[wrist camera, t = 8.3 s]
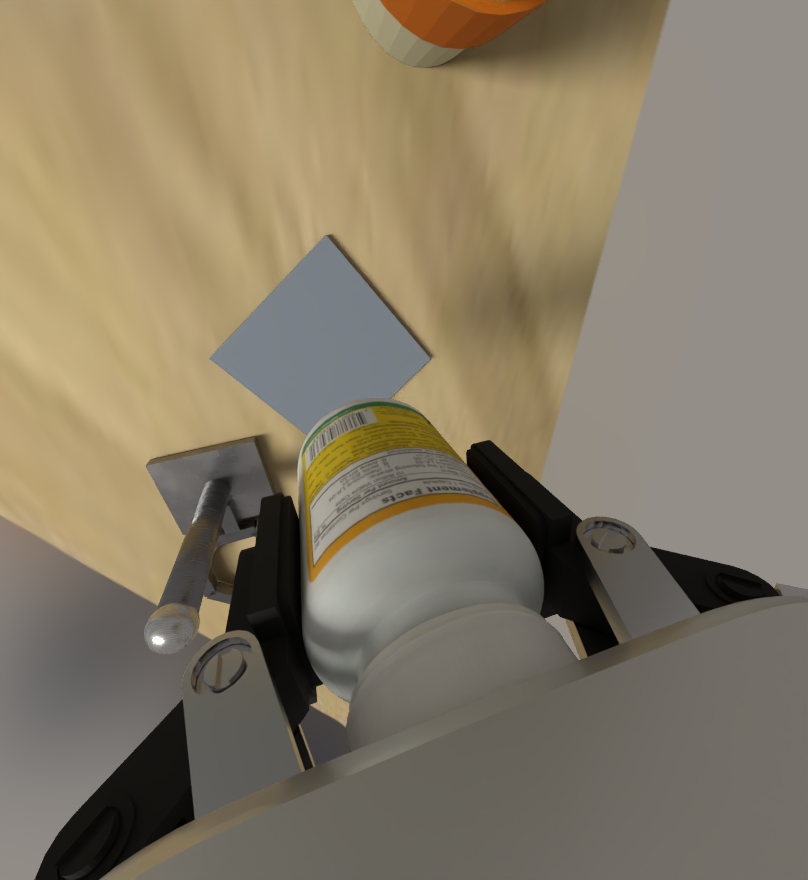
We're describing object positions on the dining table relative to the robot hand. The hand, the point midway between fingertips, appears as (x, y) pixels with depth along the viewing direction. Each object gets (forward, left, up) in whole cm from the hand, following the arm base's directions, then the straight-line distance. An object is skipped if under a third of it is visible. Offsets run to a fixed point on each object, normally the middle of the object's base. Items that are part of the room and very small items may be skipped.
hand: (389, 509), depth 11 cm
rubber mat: (0, 0, -20) cm, 20 cm away
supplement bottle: (0, 0, -3) cm, 3 cm away
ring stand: (-5, +17, -20) cm, 27 cm away
